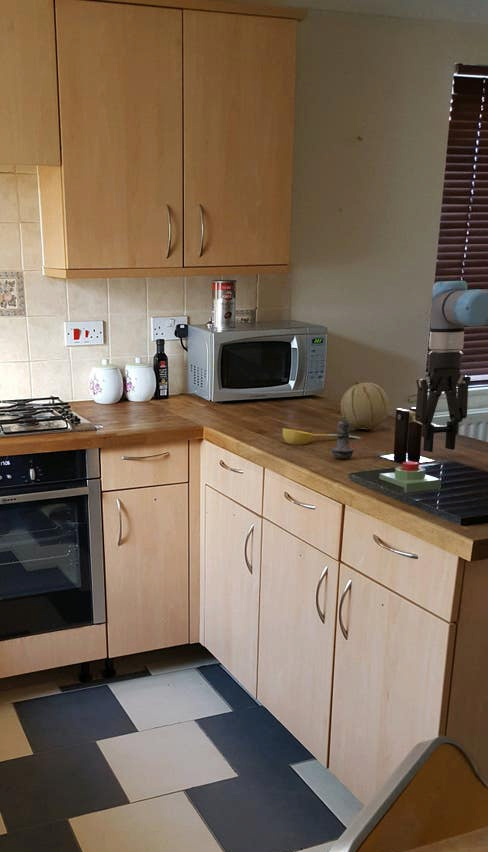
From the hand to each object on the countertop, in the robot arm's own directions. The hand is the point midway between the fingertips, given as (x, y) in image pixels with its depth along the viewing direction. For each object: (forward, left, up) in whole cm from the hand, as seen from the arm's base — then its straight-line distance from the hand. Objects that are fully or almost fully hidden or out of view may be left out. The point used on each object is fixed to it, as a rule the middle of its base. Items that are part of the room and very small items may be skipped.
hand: (438, 449), depth 211 cm
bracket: (+13, 0, -6) cm, 14 cm away
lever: (+7, 0, +4) cm, 8 cm away
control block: (-9, +14, -6) cm, 18 cm away
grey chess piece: (+21, +14, -6) cm, 26 cm away
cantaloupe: (+63, -18, -6) cm, 66 cm away
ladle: (+46, +5, -6) cm, 47 cm away
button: (-9, +14, -2) cm, 17 cm away
